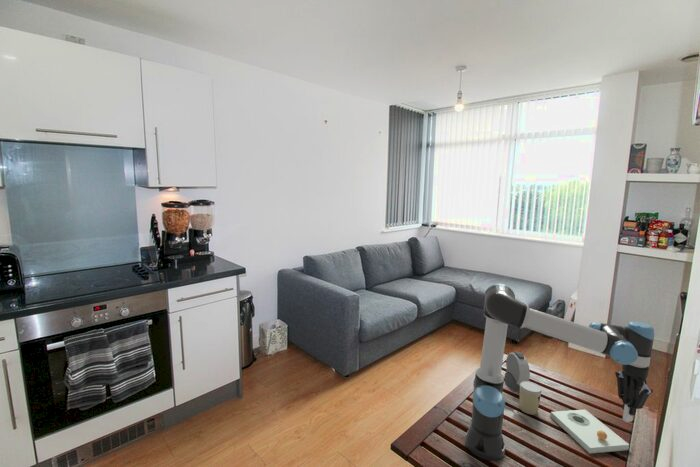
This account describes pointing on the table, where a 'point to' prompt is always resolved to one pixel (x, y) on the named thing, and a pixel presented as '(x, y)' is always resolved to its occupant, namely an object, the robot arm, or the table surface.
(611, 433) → the plate
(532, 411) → the coffee cup
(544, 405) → the table surface
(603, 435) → the ball
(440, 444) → the table surface
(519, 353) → the alarm clock
